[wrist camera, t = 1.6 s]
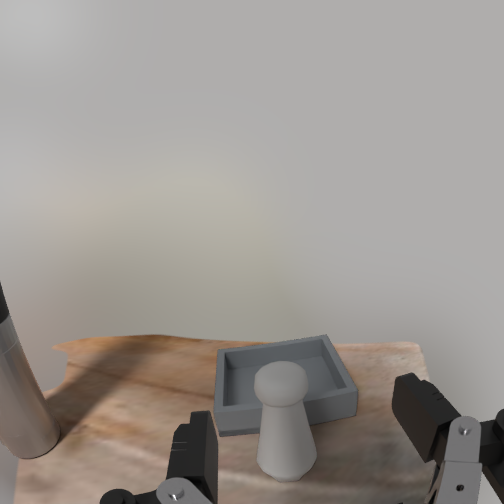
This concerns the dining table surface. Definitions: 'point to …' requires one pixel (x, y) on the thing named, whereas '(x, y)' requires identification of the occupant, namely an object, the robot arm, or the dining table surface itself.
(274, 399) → the salt shaker
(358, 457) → the dining table surface
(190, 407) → the dining table surface
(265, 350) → the tray
